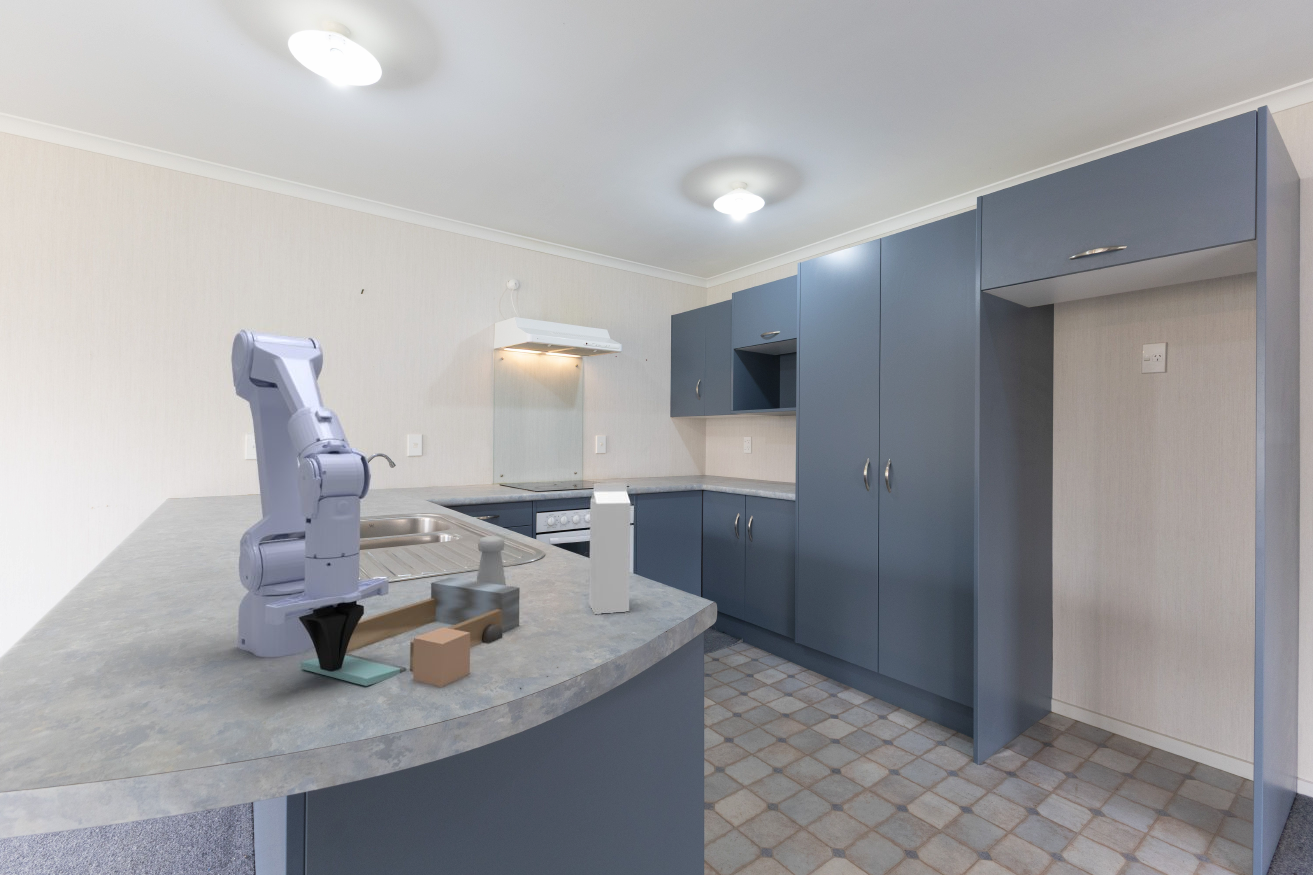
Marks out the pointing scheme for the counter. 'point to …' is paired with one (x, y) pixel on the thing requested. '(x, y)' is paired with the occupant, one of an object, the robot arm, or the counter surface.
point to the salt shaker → (491, 560)
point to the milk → (609, 548)
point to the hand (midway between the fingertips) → (331, 668)
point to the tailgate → (357, 670)
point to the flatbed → (447, 613)
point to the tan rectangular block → (441, 656)
